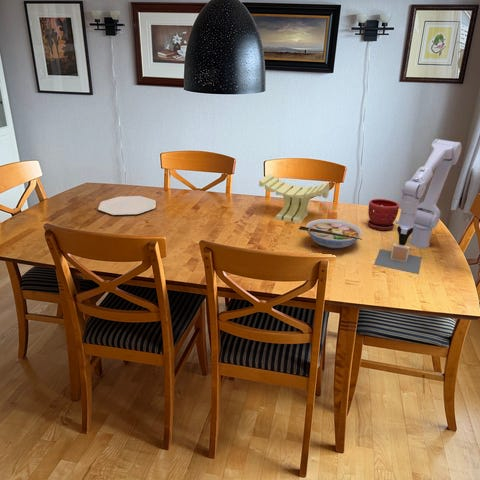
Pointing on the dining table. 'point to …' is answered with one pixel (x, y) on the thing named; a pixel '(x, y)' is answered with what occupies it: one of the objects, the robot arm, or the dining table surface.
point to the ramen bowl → (333, 232)
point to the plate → (127, 205)
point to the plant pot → (382, 213)
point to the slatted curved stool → (293, 197)
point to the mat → (398, 262)
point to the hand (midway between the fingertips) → (402, 244)
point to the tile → (400, 252)
